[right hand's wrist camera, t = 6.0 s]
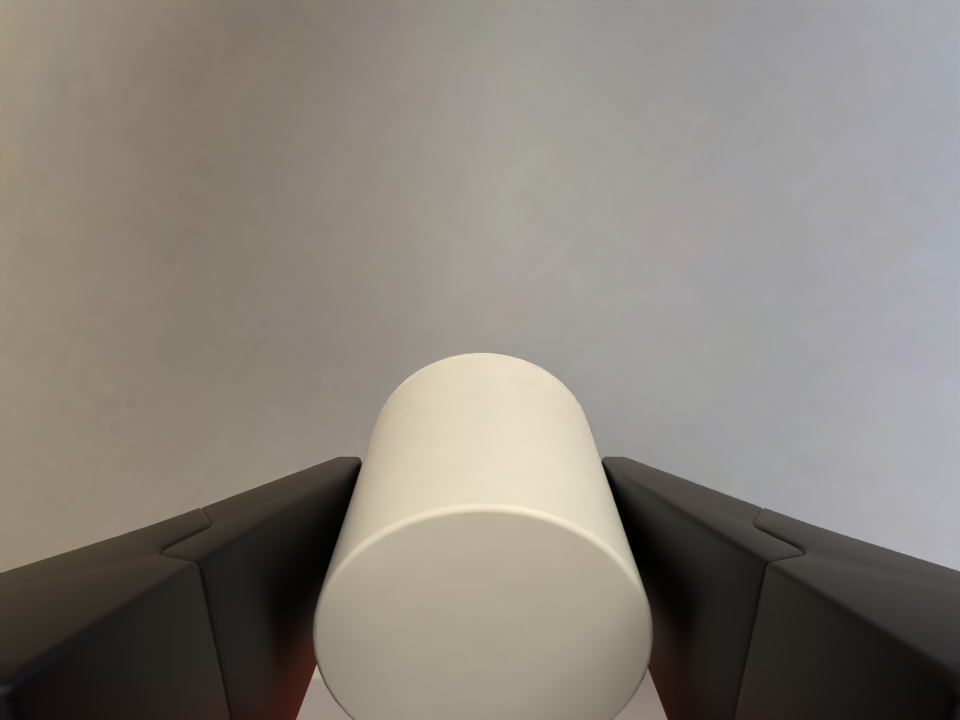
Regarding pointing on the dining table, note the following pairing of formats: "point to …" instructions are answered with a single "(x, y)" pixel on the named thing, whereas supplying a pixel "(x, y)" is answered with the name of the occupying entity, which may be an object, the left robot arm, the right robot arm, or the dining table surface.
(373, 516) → the canister
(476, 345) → the dining table surface
